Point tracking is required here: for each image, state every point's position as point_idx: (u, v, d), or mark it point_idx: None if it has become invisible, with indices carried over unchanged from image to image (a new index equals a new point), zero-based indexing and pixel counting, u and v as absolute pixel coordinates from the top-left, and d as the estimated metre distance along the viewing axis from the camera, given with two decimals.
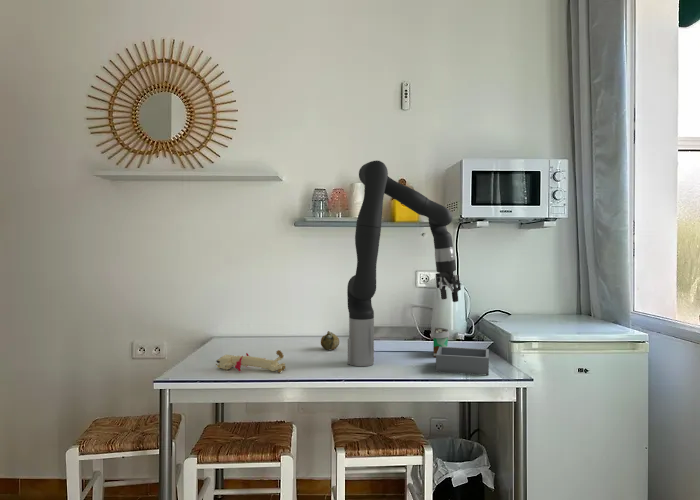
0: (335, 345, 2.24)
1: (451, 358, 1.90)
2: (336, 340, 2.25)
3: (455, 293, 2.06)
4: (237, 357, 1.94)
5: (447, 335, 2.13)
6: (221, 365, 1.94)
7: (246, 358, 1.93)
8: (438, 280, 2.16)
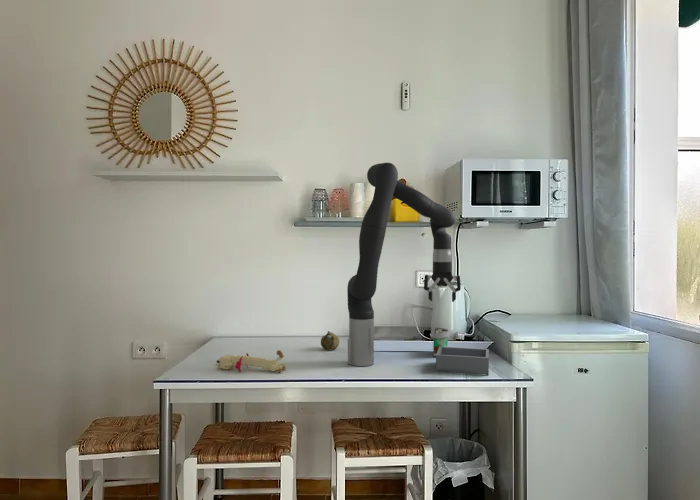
0: (335, 345, 2.24)
1: (451, 358, 1.90)
2: (336, 340, 2.25)
3: (455, 293, 2.14)
4: (237, 357, 1.94)
5: (447, 335, 2.13)
6: (221, 365, 1.93)
7: (246, 358, 1.93)
8: (427, 282, 2.16)
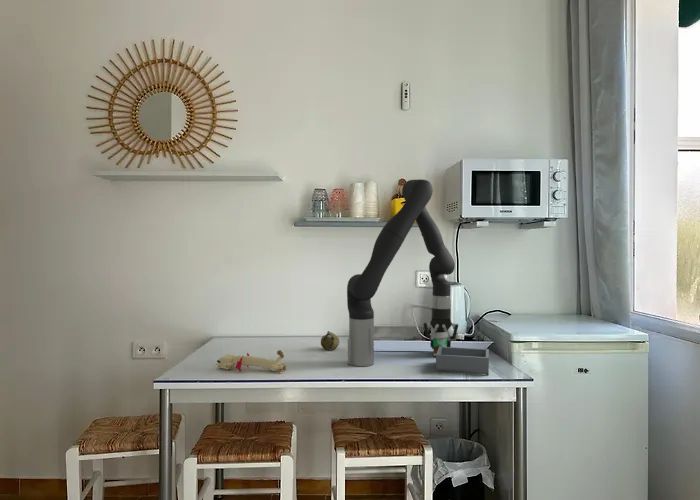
0: (335, 345, 2.24)
1: (451, 358, 1.90)
2: (336, 340, 2.25)
3: None
4: (237, 357, 1.94)
5: (447, 335, 2.13)
6: (222, 365, 1.93)
7: (247, 358, 1.93)
8: (427, 329, 2.16)
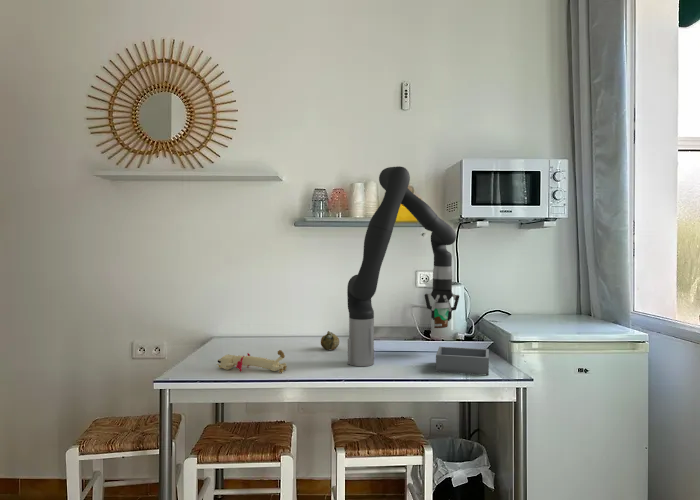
0: (335, 345, 2.24)
1: (451, 358, 1.90)
2: (336, 340, 2.25)
3: (451, 312, 2.14)
4: (238, 357, 1.94)
5: (448, 306, 2.12)
6: (222, 365, 1.93)
7: (247, 358, 1.93)
8: (428, 300, 2.16)
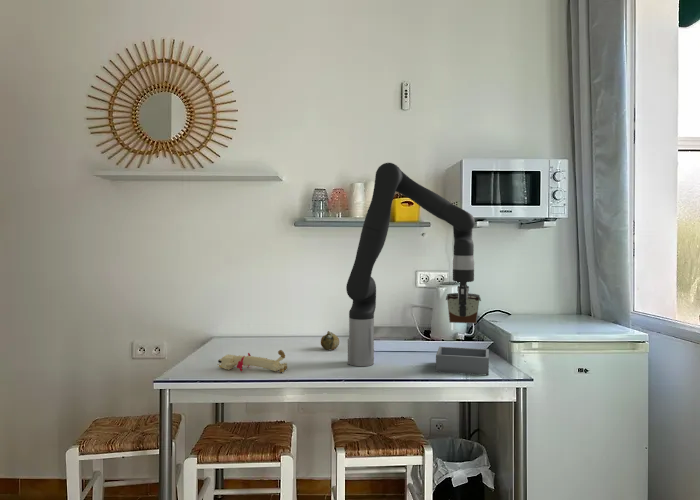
0: (335, 345, 2.24)
1: (451, 358, 1.90)
2: (336, 340, 2.25)
3: None
4: (239, 357, 1.94)
5: None
6: (223, 365, 1.93)
7: (248, 358, 1.93)
8: None
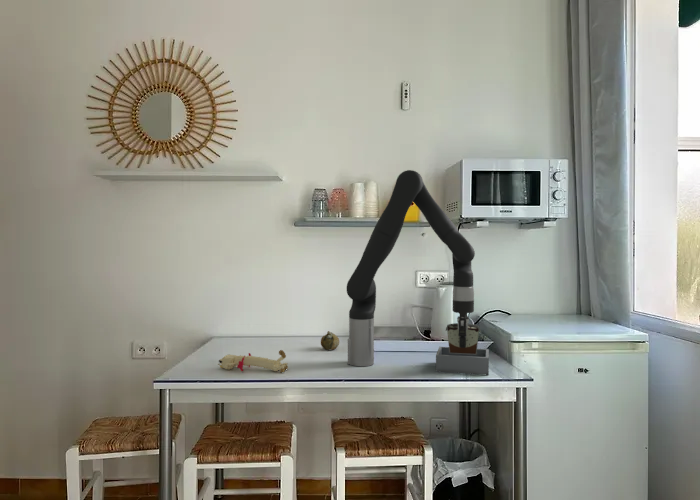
0: (335, 345, 2.24)
1: (451, 358, 1.90)
2: (336, 340, 2.25)
3: None
4: (239, 357, 1.94)
5: None
6: (223, 365, 1.93)
7: (248, 358, 1.93)
8: None
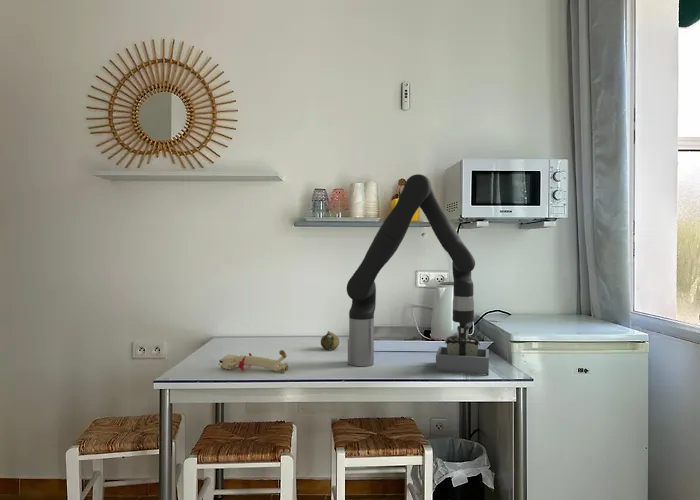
0: (335, 345, 2.24)
1: (451, 358, 1.90)
2: (336, 340, 2.25)
3: None
4: (240, 357, 1.94)
5: None
6: (224, 365, 1.93)
7: (249, 358, 1.93)
8: None
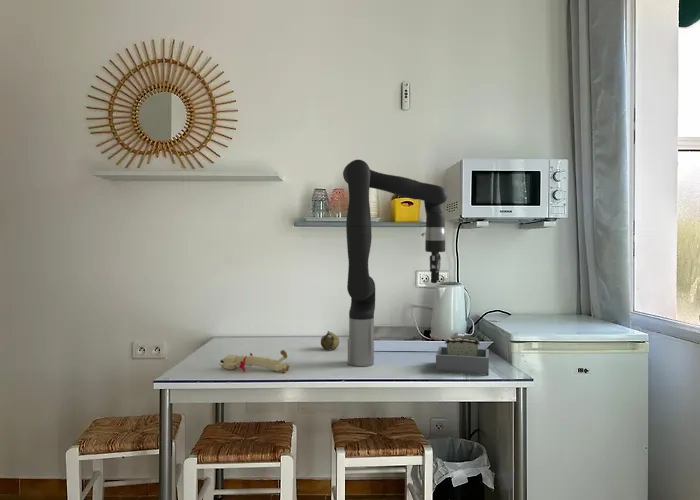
0: (335, 345, 2.24)
1: (451, 358, 1.90)
2: (336, 340, 2.25)
3: None
4: (241, 357, 1.94)
5: None
6: (225, 365, 1.93)
7: (250, 358, 1.93)
8: None
